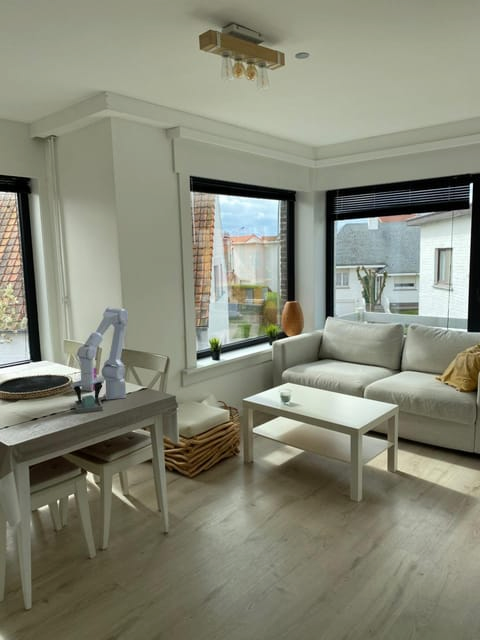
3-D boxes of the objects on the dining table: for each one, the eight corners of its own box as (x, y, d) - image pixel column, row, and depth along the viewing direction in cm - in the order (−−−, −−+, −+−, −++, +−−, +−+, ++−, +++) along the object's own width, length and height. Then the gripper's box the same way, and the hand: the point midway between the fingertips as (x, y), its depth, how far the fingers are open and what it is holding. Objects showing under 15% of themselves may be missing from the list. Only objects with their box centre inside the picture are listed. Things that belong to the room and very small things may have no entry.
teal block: (91, 404, 228) (91, 394, 227) (94, 407, 224) (94, 397, 223) (82, 405, 225) (81, 396, 224) (85, 408, 222) (84, 399, 221)
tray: (99, 402, 232) (99, 398, 232) (102, 410, 222) (102, 406, 222) (74, 404, 228) (74, 400, 227) (76, 413, 218) (76, 409, 217)
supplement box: (92, 392, 246) (91, 370, 244) (81, 391, 247) (80, 369, 245) (97, 388, 251) (96, 367, 249) (87, 387, 252) (86, 366, 250)
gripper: (100, 367, 229) (100, 395, 232) (68, 371, 221) (69, 400, 223) (105, 371, 223) (105, 399, 226) (72, 376, 215) (74, 405, 218)
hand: (88, 400), depth 224 cm, fingers open, 7 cm apart
